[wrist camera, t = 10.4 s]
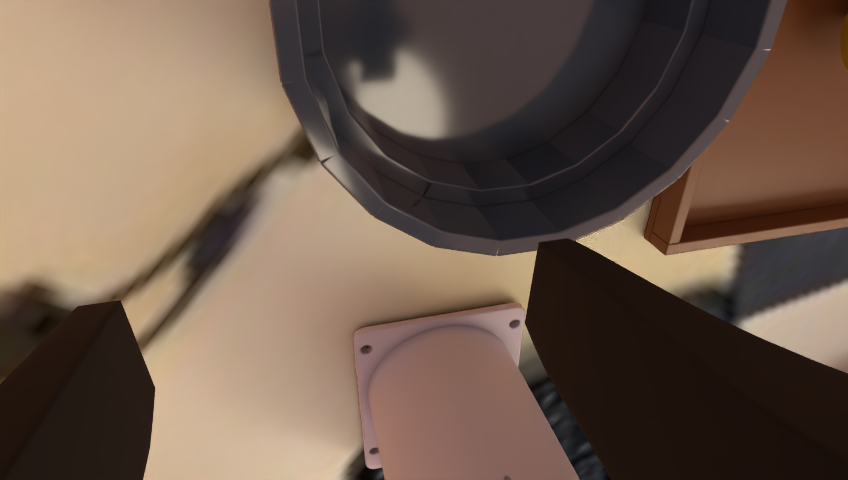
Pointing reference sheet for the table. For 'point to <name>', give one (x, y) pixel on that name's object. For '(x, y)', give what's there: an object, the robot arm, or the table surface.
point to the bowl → (515, 106)
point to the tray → (771, 148)
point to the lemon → (844, 42)
